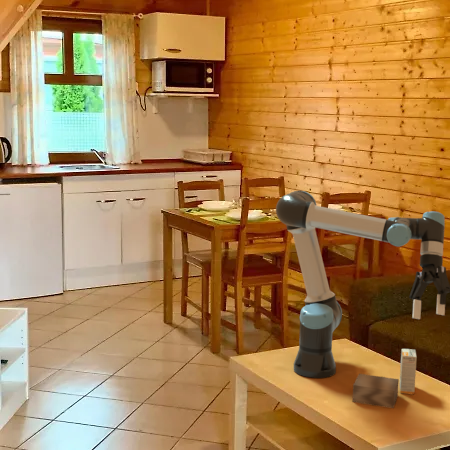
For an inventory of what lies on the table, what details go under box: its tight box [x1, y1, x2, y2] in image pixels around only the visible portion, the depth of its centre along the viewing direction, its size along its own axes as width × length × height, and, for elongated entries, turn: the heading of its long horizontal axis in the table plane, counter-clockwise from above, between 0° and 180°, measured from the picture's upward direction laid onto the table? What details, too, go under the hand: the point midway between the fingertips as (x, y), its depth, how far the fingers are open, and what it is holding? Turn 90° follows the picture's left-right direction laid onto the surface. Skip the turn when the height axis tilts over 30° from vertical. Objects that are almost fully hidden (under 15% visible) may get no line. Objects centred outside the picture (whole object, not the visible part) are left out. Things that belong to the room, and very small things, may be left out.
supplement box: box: [398, 348, 418, 395], centre depth 240 cm, size 8×5×13 cm, turn 168°
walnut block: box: [352, 373, 400, 409], centre depth 232 cm, size 13×11×6 cm
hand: (427, 316), depth 240 cm, fingers open, 13 cm apart
